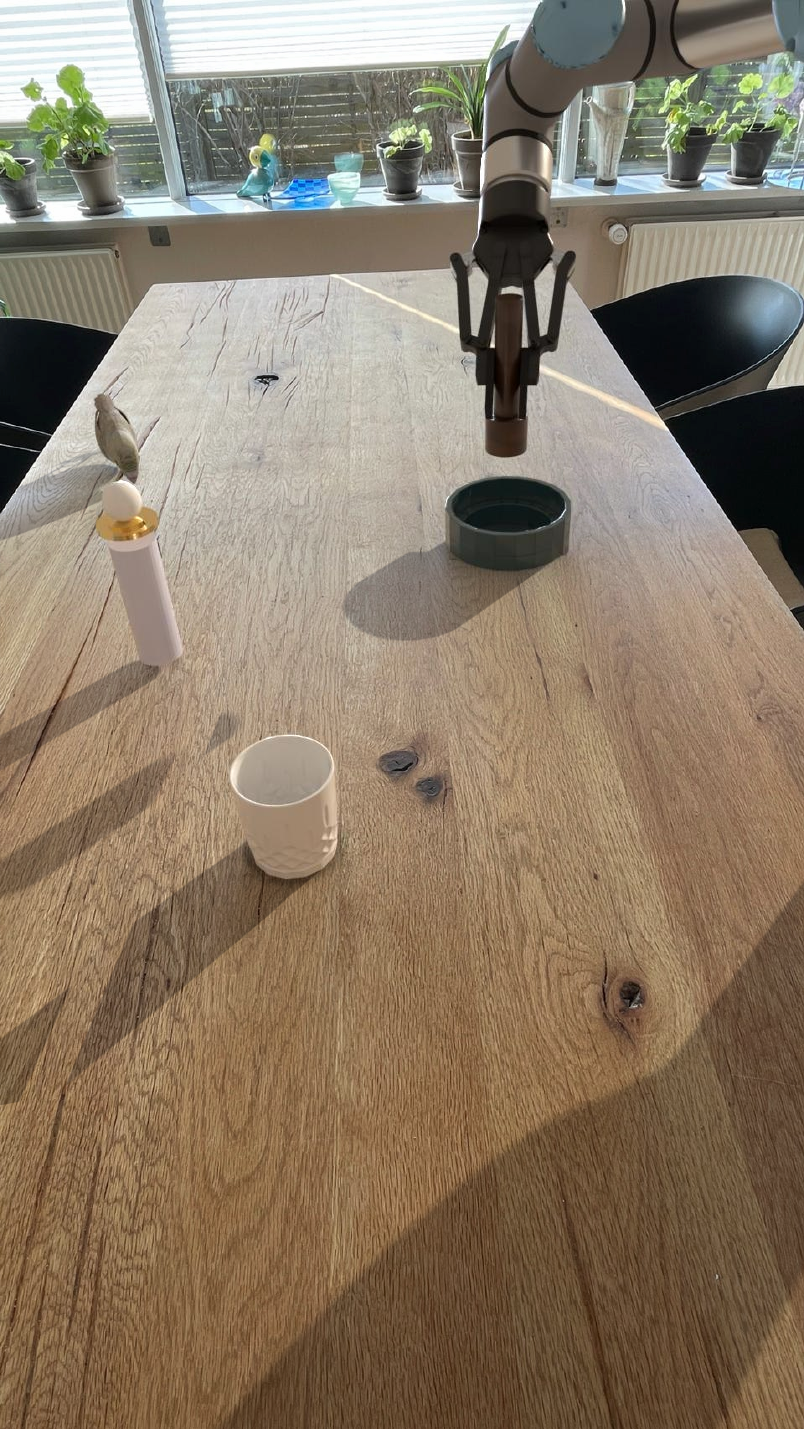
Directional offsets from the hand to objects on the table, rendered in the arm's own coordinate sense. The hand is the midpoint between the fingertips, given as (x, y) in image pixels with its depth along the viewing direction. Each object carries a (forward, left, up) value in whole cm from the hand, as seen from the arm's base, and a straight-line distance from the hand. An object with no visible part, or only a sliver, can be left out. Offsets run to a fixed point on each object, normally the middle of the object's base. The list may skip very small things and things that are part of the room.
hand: (505, 413), depth 98 cm
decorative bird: (+56, -26, -19) cm, 64 cm away
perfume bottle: (+35, +20, -19) cm, 44 cm away
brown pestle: (0, -4, -6) cm, 7 cm away
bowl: (0, -4, -19) cm, 19 cm away
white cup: (+15, +46, -19) cm, 52 cm away
